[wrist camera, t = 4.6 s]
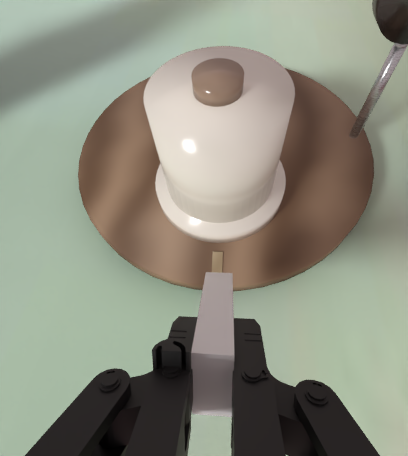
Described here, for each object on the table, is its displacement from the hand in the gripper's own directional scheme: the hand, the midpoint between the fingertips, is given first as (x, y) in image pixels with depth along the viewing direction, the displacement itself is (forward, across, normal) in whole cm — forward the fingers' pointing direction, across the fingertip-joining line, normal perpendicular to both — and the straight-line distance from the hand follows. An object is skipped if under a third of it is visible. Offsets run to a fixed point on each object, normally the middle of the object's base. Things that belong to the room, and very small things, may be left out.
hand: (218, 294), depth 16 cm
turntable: (+16, 0, +6) cm, 18 cm away
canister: (+11, 0, +4) cm, 12 cm away
